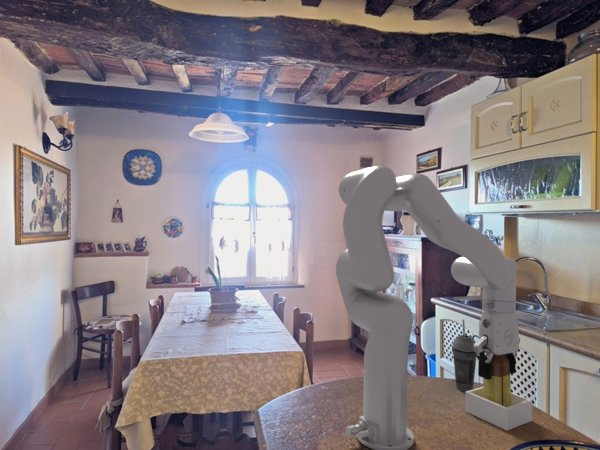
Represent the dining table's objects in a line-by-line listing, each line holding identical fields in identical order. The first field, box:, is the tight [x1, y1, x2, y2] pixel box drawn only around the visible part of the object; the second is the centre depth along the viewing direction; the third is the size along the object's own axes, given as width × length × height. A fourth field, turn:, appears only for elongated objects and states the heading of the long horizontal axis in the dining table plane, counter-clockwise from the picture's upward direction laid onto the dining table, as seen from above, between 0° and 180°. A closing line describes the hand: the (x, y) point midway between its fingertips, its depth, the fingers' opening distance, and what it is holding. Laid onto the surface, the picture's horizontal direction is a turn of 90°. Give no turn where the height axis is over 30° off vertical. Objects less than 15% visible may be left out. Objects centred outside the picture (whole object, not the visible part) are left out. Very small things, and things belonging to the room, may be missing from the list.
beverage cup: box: [451, 319, 477, 392], centre depth 117 cm, size 7×7×20 cm
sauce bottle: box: [482, 349, 512, 407], centre depth 100 cm, size 7×6×20 cm
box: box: [464, 386, 533, 431], centre depth 100 cm, size 10×11×5 cm
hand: (497, 374), depth 100 cm, fingers open, 9 cm apart
